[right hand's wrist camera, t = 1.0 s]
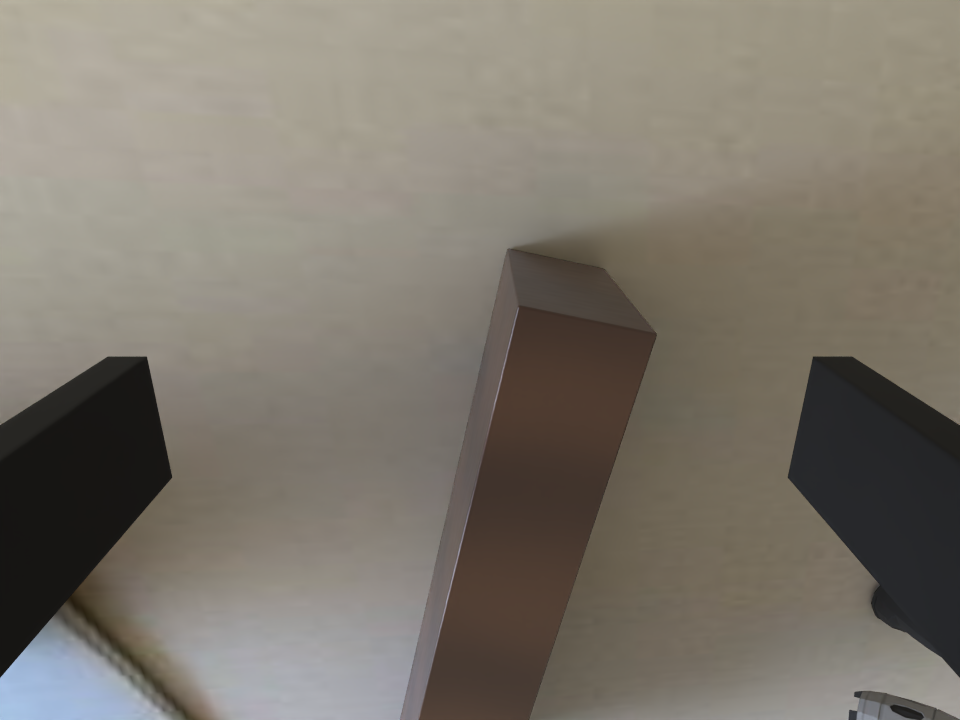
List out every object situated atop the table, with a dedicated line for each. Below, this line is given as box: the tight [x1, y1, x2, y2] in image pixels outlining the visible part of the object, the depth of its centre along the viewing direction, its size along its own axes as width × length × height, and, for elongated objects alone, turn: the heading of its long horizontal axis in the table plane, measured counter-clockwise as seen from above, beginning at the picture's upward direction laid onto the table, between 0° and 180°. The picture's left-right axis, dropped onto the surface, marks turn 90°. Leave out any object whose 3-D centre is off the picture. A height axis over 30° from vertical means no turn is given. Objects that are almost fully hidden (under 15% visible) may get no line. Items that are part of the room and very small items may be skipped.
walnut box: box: [400, 249, 657, 720], centre depth 32 cm, size 34×5×10 cm, turn 168°
